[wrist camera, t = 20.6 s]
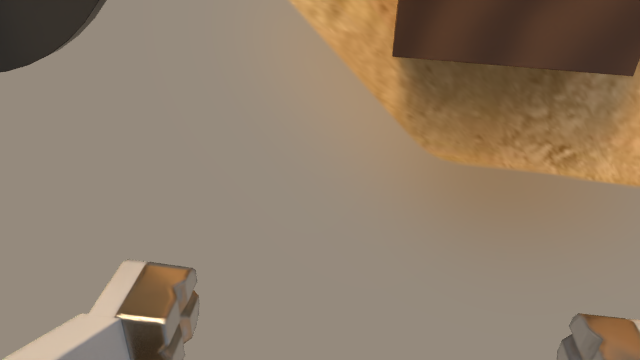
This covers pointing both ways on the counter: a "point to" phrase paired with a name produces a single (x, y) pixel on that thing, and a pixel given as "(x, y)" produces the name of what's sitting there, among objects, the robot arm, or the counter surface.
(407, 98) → the counter surface
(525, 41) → the wooden footed stand
